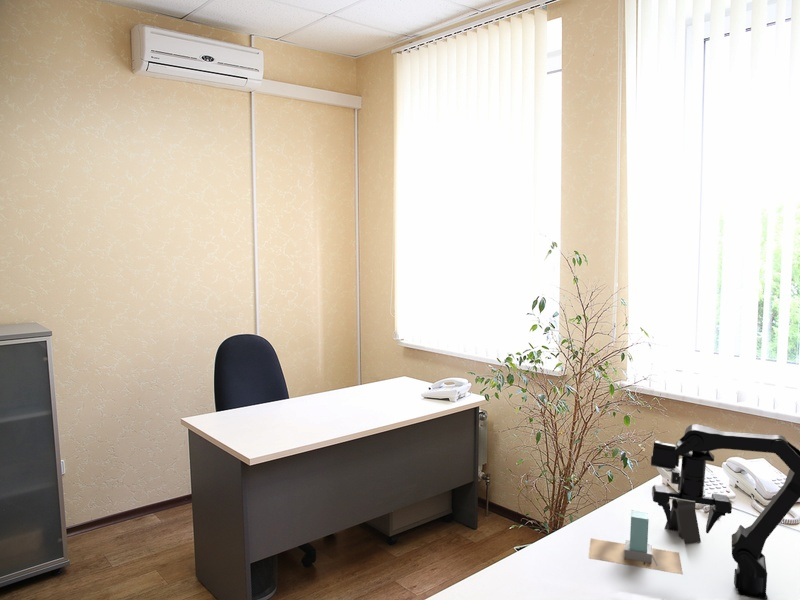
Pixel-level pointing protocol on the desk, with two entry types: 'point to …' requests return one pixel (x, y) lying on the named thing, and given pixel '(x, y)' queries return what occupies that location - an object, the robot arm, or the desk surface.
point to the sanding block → (639, 538)
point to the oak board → (617, 555)
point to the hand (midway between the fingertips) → (687, 529)
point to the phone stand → (684, 521)
